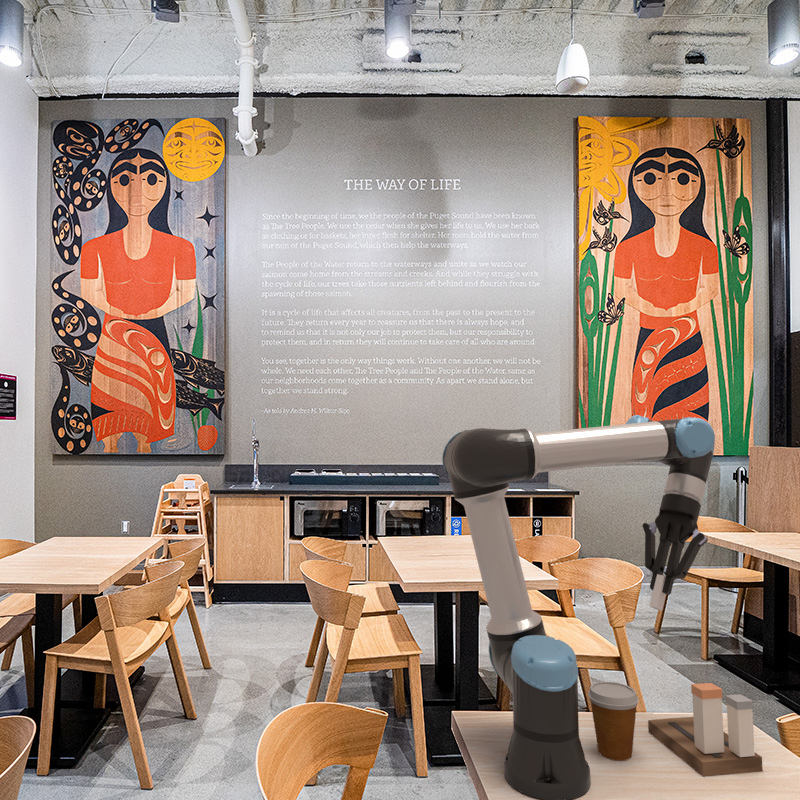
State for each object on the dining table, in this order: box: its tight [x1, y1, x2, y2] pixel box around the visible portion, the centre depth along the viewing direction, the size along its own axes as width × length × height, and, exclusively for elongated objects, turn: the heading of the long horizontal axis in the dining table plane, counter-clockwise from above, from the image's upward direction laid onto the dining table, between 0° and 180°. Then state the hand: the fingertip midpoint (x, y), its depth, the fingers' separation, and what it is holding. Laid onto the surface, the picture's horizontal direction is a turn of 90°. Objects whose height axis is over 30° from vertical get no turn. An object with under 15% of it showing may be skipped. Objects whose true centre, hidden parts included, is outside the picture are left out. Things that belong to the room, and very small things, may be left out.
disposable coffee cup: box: [587, 681, 640, 762], centre depth 121 cm, size 10×10×12 cm
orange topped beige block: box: [690, 682, 724, 754], centre depth 116 cm, size 3×4×11 cm
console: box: [647, 716, 764, 777], centre depth 121 cm, size 18×12×4 cm, turn 9°
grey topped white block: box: [725, 694, 756, 757], centre depth 115 cm, size 3×3×10 cm
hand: (655, 608), depth 123 cm, fingers closed
